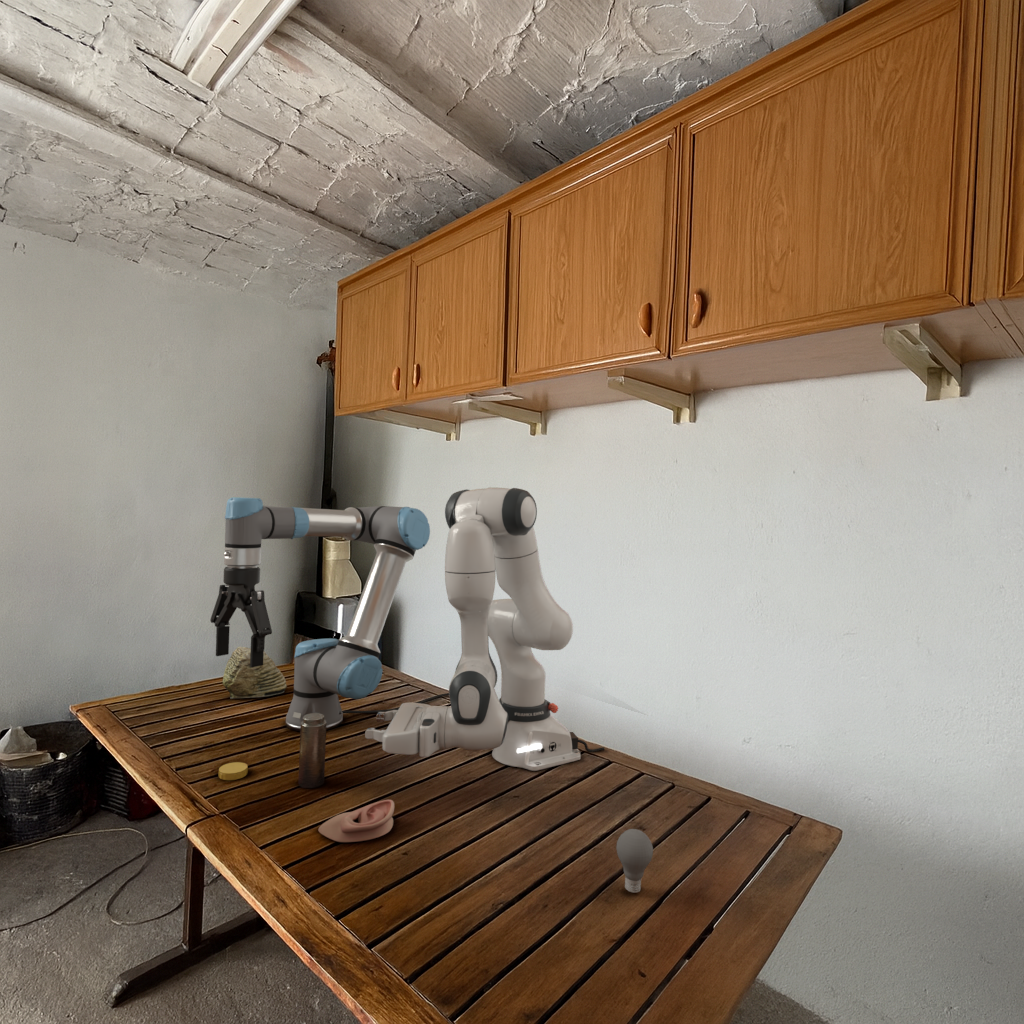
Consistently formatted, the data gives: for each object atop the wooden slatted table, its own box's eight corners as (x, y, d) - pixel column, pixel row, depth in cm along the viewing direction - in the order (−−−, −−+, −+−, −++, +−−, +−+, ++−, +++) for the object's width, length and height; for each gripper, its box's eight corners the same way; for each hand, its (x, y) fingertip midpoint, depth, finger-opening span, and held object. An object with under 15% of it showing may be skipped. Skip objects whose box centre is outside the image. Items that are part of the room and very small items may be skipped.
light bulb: (610, 879, 108) (613, 822, 108) (644, 879, 109) (647, 822, 109) (619, 902, 102) (622, 840, 102) (655, 901, 103) (658, 840, 103)
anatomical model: (310, 816, 117) (339, 789, 129) (309, 837, 117) (338, 808, 129) (377, 827, 115) (401, 798, 126) (376, 848, 115) (400, 818, 126)
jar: (306, 776, 143) (308, 711, 143) (328, 779, 142) (331, 713, 142) (293, 786, 138) (296, 719, 138) (316, 789, 137) (319, 721, 137)
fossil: (218, 695, 195) (220, 647, 195) (278, 685, 208) (279, 640, 207) (228, 703, 189) (230, 653, 188) (289, 692, 201) (290, 645, 201)
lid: (241, 780, 140) (241, 773, 139) (213, 780, 139) (213, 773, 139) (251, 769, 145) (252, 762, 145) (224, 768, 145) (225, 761, 145)
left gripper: (196, 562, 146) (193, 653, 146) (259, 573, 132) (256, 674, 132) (227, 560, 152) (223, 648, 153) (291, 570, 138) (287, 667, 138)
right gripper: (441, 696, 149) (383, 694, 150) (426, 730, 129) (359, 728, 130) (440, 723, 150) (382, 720, 150) (425, 761, 129) (358, 758, 130)
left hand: (238, 660), depth 142 cm, fingers open, 13 cm apart
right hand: (371, 724), depth 140 cm, fingers open, 8 cm apart
